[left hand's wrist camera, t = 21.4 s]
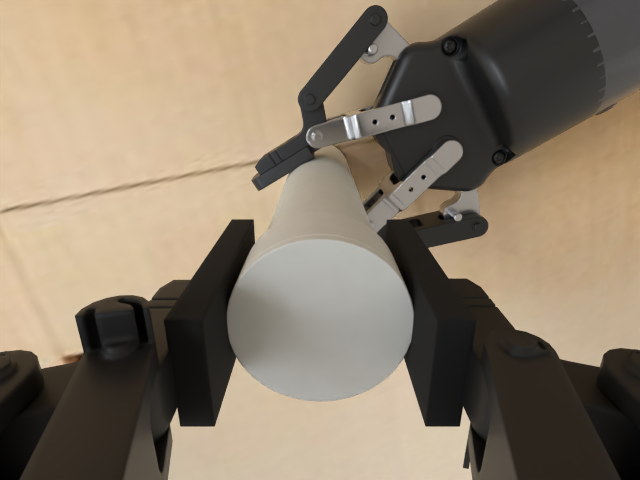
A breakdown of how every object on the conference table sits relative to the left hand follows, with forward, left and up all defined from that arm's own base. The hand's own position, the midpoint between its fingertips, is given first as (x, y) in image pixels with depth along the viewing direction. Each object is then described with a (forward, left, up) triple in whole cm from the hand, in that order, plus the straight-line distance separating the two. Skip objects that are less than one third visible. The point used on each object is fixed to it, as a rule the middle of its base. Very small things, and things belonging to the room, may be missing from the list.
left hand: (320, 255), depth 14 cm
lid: (0, 0, +4) cm, 4 cm away
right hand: (-2, +2, -9) cm, 10 cm away
